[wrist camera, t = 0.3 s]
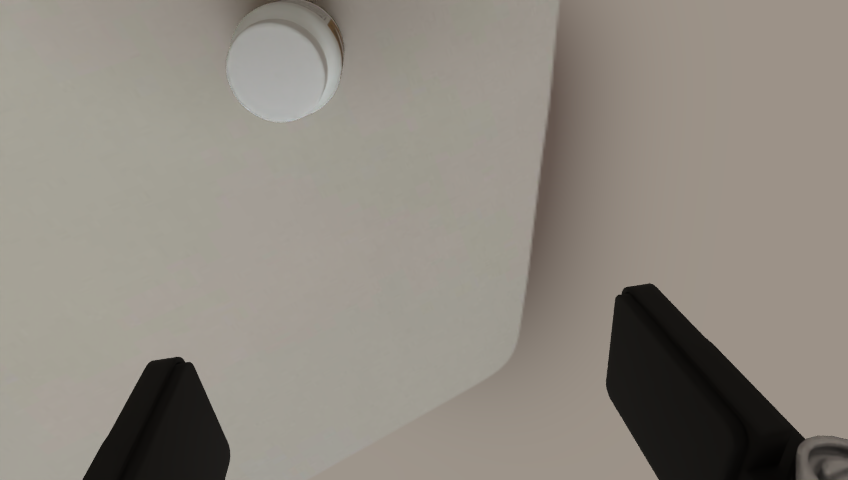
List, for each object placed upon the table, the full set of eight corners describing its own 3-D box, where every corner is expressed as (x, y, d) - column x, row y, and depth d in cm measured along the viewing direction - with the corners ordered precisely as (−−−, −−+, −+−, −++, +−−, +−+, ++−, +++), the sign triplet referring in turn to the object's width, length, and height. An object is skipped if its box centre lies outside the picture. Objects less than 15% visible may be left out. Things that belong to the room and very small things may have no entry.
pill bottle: (333, 104, 25) (324, 149, 19) (246, 78, 24) (203, 117, 17) (354, 15, 23) (352, 30, 17) (261, -16, 22) (219, -14, 16)
